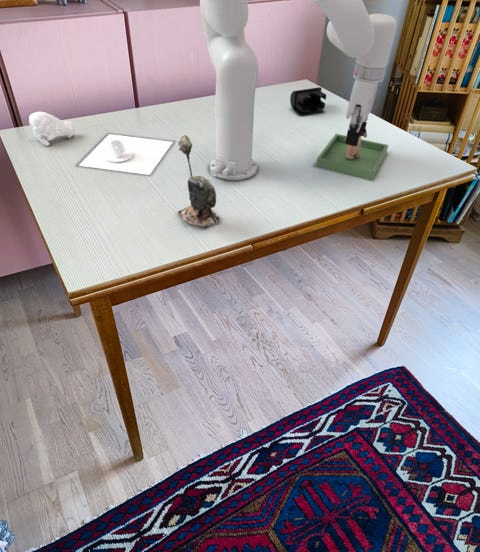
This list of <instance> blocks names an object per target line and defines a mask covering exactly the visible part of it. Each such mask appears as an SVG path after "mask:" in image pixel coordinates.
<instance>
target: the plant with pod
mask: <svg viewBox="0 0 480 552" xmlns="http://www.w3.org/2000/svg"><path fill="white" fill-rule="evenodd" d="M178 146H179V149H178V151H179V152H180V151H181V152H182V154H184V155H185V156H186V159H187V163H188V168H189V174H190V177H189V178H188V180H187V187H188V189H187V190H188V195H189V198H188V199H189V201H190V205H188V206H187V207H185V208H182V209H181V210H179V211H178V214H179V216H180V217H181V218H182V219H183V222H184V221H185V224H191V225H193V226H197V227H199V228H207V227H211V226H212V225H214V224H215V225H218V224H219V220H220V216H218V215H217V213H216V212H215V210H213V209H212V208H214V207H215V206H216V204H217V192H216V188H215V187H214V185H213V184H212V183H211V181H210V180H209V179H207V178H206V177H204V176H202V175H195V176H193V172H192V166H191V163H190V155H191V152H192V148H193V143H192V142H191V139H190V138H189V136H187V135H186V134H185V135H182V136H181V138H180V140H179V141H178Z"/></svg>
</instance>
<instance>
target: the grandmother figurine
mask: <svg viewBox="0 0 480 552" xmlns="http://www.w3.org/2000/svg"><path fill="white" fill-rule="evenodd" d="M358 119H359V120H360V119H361V118H360V117H358ZM363 122H366V121H365V120H364V121H363ZM363 122H362V123H363ZM362 123H361V127H360V130H359V132H360V135H359V140H358V144H357V146H351V145H348V146H347V149H346V152H347V153H348V154H346V155H345V157H346V158H349V159H354V157H360V155H359V153H360V147H361V139H362V137H363V138H367V137H368V132H367V129H366V128H365V126H364V125H362ZM356 124H357V125H358V124H359V122H357V123H356ZM362 133H363V136H362ZM345 136H346V137H347V135H345ZM345 141H346V138H345Z"/></svg>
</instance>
